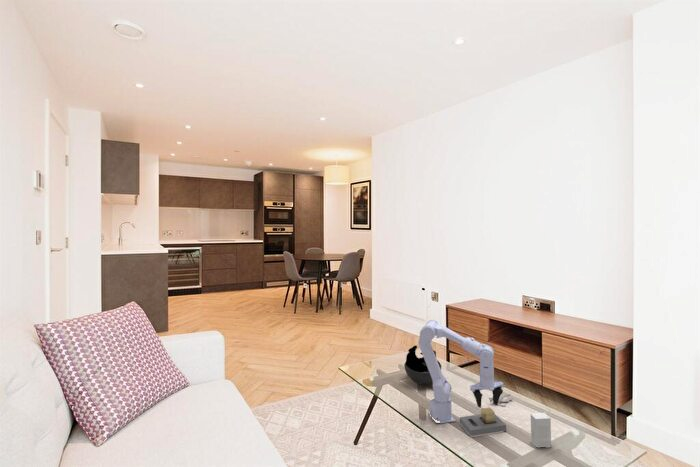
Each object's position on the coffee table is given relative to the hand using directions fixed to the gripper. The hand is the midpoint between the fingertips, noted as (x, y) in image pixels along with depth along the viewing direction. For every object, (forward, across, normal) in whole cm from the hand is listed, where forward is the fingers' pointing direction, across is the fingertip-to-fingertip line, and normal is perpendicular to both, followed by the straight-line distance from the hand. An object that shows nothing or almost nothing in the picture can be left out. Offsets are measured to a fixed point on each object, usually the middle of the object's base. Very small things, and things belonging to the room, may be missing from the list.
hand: (487, 405), depth 159 cm
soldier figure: (+10, +17, +17) cm, 26 cm away
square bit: (+9, 0, 0) cm, 9 cm away
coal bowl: (+10, -11, +46) cm, 48 cm away
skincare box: (+10, +14, -16) cm, 23 cm away
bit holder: (+10, -2, 0) cm, 10 cm away
